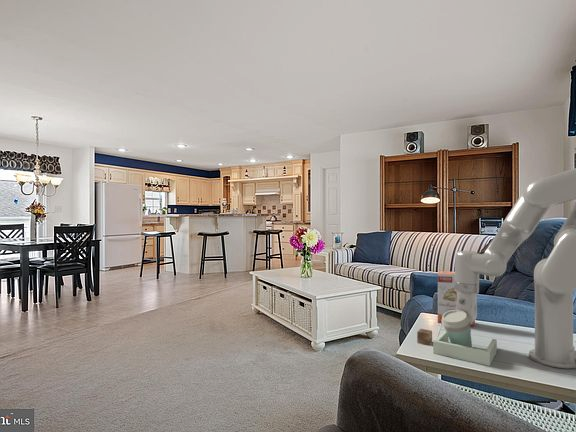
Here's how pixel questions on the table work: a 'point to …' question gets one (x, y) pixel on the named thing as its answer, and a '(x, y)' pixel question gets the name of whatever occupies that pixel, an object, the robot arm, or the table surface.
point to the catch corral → (464, 350)
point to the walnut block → (424, 336)
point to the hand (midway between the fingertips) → (464, 340)
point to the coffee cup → (457, 327)
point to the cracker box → (446, 294)
